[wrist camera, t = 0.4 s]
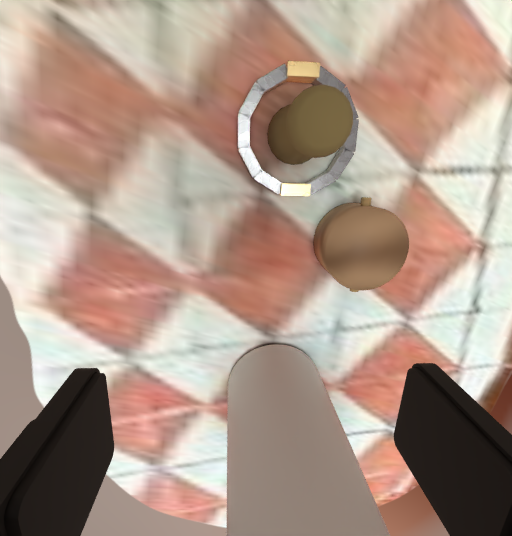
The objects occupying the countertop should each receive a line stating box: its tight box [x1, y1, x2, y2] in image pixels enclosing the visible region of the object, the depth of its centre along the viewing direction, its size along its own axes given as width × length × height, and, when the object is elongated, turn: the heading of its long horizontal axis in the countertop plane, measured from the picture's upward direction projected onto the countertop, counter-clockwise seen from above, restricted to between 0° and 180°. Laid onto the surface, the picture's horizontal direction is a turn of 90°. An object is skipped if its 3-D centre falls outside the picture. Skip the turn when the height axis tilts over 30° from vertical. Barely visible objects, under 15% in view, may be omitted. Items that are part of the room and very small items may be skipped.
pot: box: [314, 197, 409, 292], centre depth 35 cm, size 11×9×5 cm
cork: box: [267, 85, 353, 165], centre depth 28 cm, size 6×6×11 cm
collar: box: [237, 61, 359, 196], centre depth 32 cm, size 12×12×2 cm
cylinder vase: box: [227, 344, 390, 536], centre depth 31 cm, size 12×12×25 cm
